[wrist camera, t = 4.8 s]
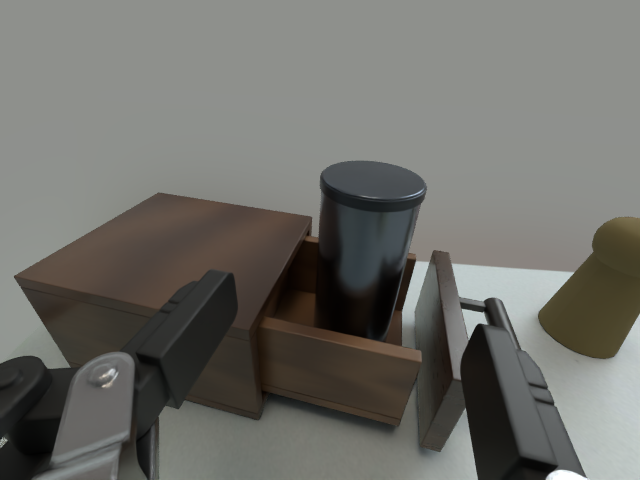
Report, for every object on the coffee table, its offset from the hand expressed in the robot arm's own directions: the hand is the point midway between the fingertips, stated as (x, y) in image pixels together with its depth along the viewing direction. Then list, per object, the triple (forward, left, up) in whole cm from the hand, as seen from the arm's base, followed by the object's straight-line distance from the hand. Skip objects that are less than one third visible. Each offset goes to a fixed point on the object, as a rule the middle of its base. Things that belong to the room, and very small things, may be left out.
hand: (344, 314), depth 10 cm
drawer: (+5, +7, -12) cm, 15 cm away
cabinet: (-8, +12, -13) cm, 20 cm away
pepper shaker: (+25, +9, -13) cm, 29 cm away
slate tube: (+3, +8, -11) cm, 14 cm away
